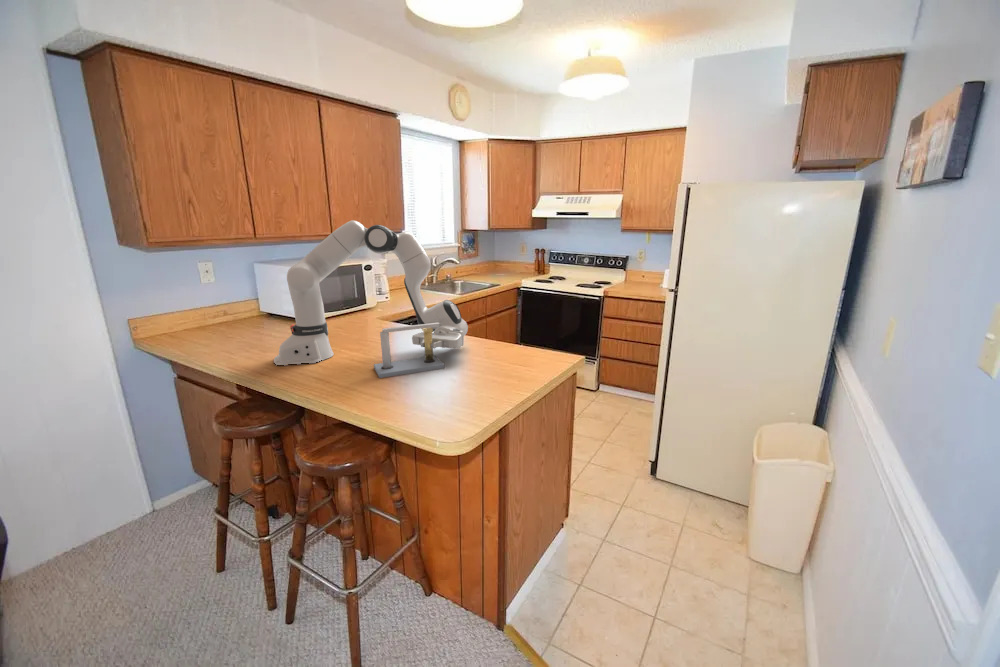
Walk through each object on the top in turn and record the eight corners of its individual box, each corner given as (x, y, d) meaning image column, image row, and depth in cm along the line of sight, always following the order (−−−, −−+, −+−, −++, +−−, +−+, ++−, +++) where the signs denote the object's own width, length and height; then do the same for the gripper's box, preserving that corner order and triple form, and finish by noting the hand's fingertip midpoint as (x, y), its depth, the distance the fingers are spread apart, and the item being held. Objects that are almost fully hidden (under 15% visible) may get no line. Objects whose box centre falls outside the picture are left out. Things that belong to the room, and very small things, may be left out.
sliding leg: (426, 361, 163) (424, 330, 159) (424, 359, 165) (422, 328, 162) (434, 360, 164) (432, 329, 161) (432, 358, 167) (430, 327, 163)
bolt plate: (379, 378, 152) (375, 334, 148) (374, 367, 163) (370, 326, 158) (445, 367, 162) (443, 326, 157) (436, 358, 172) (434, 319, 168)
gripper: (421, 327, 178) (403, 335, 165) (466, 330, 170) (450, 339, 158) (422, 341, 179) (404, 351, 167) (467, 346, 172) (451, 356, 160)
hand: (427, 345), depth 162 cm, fingers closed on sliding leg, 3 cm apart
